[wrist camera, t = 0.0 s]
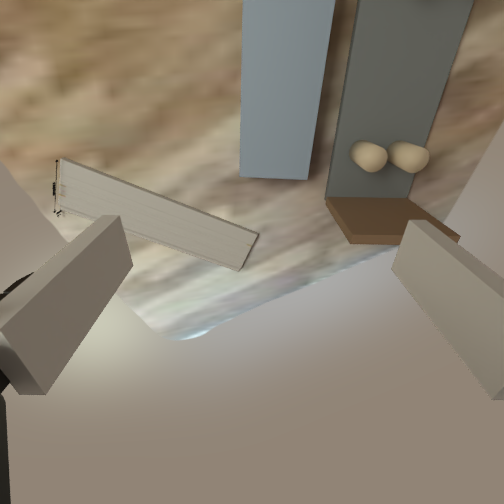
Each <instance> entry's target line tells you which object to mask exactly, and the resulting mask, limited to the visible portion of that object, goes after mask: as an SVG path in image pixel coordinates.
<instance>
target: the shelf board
mask: <svg viewBox="0 0 504 504" xmlns="http://www.w3.org/2000/svg"><path fill="white" fill-rule="evenodd" d="M334 6H335V0H243V21H242V72H241V123H240V174H239V177H255V178H277V179H298V180H307V178H308V172H309V166H310V159H311V153H312V146H313V140H314V134H315V127H316V121H317V114H318V108H319V102H320V95H321V89H322V82H323V76H324V70H325V63H326V57H327V50H328V44H329V38H330V31H331V25H332V18H333V12H334Z"/></svg>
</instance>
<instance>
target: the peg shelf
mask: <svg viewBox="0 0 504 504" xmlns="http://www.w3.org/2000/svg"><path fill="white" fill-rule="evenodd" d="M473 2H474V0H358V2H357V8H356V14H355V20H354V26H353V32H352V38H351V44H350V50H349V56H348V62H347V68H346V74H345V80H344V86H343V92H342V98H341V103H340V109H339V115H338V121H337V127H336V133H335V139H334V145H333V151H332V157H331V163H330V169H329V175H328V181H327V187H326V193H325V201H326V206H327V208H328V209H329V211H330V212H331V214H332V216H333V217H334V219H335V220H336V222H337V224H338V225H339V227H340V228H341V230H342V231H343V233H344V235H345V236H346V238H347V239H348V241H349V243H350V244H383V245H400V243H401V241H402V238H403V235H404V232H405V230H406V227H407V224H408V221H409V220H427V221H428V222H429V223H431V224H432V225H433V226H435V227H436V228H437V229H439V230H440V231H441V232H442V233H444V234H445V235H446V236H448V237H449V238H450V239H452V240H453V241H454V242H456V243H458V241H459V239H460V237H461V236H460V235H458V234H457V233H455V232H454V231H453V230H451V229H450V228H448V227H447V226H445V225H444V224H443V223H441V222H440V221H438V220H437V219H436V218H434V217H433V216H431V215H430V214H429V213H427V212H426V211H424V210H423V209H422V208H420V207H419V206H417V205H416V204H414V203H413V202H412V201H410V200H409V199H407V196H408V193H409V190H410V187H411V184H412V181H413V178H414V175H415V173H416V172H419V171H420V170H422V169H423V168H424V167H425V166H426V165H427V163H428V161H429V152H428V151H427V150H426V149H425V148H424V146H425V143H426V140H427V137H428V134H429V131H430V128H431V125H432V122H433V120H434V117H435V114H436V111H437V108H438V105H439V102H440V99H441V96H442V93H443V90H444V87H445V84H446V81H447V78H448V75H449V73H450V70H451V67H452V64H453V61H454V58H455V55H456V52H457V49H458V46H459V43H460V40H461V37H462V34H463V31H464V28H465V25H466V23H467V20H468V17H469V14H470V11H471V8H472V5H473Z"/></svg>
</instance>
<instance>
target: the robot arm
mask: <svg viewBox="0 0 504 504" xmlns="http://www.w3.org/2000/svg"><path fill="white" fill-rule="evenodd" d="M132 267H133V262H132V259H131V255H130V251H129V248H128V244H127V240H126V237H125V233H124V229H123V225H122V222H121V218H120V215H102V216H101V217H100V218H99V219H97V220H96V221H95V222H94V223H93V224H91V225H90V226H89V227H88V228H87V229H85V230H84V231H83V232H82V233H81V234H80V235H78V236H77V237H76V238H75V239H74V240H72V241H71V242H70V243H69V244H68V245H67V246H65V247H64V248H63V249H62V250H60V251H59V252H58V253H57V254H56V255H55V256H53V257H52V258H51V259H50V260H49V261H48V262H46V263H45V264H44V265H43V266H42V267H40V268H39V269H38V270H37V271H35V272H33V273H31V274H29V275H27V276H25V277H23V278H21V279H19V280H18V281H16V282H15V283H13V284H12V285H11V286H10V287H8V288H7V289H6V290H5V291H4V293H3V294H0V504H11V501H10V483H9V462H8V443H7V442H8V441H7V422H6V403H5V400H4V398H3V396H2V395H1V393H2V391H3V390H4V389H5V388H6V387H7V385H8V384H9V383H10V384H11V385H12V386H13V387H14V388H15V390H16V391H17V392H18V394H19V395H46V394H47V392H48V391H49V389H50V388H51V386H52V384H53V383H54V382H55V380H56V379H57V377H58V376H59V374H60V373H61V372H62V370H63V369H64V367H65V366H66V364H67V363H68V361H69V360H70V358H71V357H72V355H73V353H74V352H75V351H76V349H77V348H78V346H79V345H80V343H81V342H82V341H83V339H84V338H85V336H86V335H87V333H88V332H89V330H90V329H91V327H92V326H93V324H94V323H95V321H96V320H97V318H98V317H99V315H100V314H101V312H102V311H103V309H104V308H105V307H106V305H107V304H108V302H109V301H110V299H111V298H112V296H113V295H114V293H115V292H116V290H117V289H118V287H119V286H120V284H121V283H122V281H123V280H124V278H125V277H126V276H127V274H128V273H129V271H130V270H131V268H132ZM391 269H392V271H393V272H394V273H395V274H396V276H397V277H398V278H399V280H400V281H401V282H402V284H403V285H404V286H405V288H406V289H407V290H408V292H409V293H410V294H411V295H412V297H413V298H414V299H415V301H416V302H417V303H418V305H419V306H420V307H421V308H422V310H423V311H424V312H425V313H426V315H427V316H428V317H429V319H430V320H431V321H432V323H433V324H434V325H435V327H436V328H437V329H438V331H439V332H440V333H441V334H442V336H443V337H444V338H445V340H446V341H447V342H448V343H449V345H450V346H451V347H452V349H453V350H454V351H455V353H456V354H457V355H458V357H459V358H460V359H461V361H462V362H463V363H464V364H465V366H466V367H467V368H468V370H469V371H470V372H471V373H472V375H473V376H474V377H475V379H476V380H477V381H478V383H479V384H480V385H481V386H482V388H483V389H484V390H485V392H486V393H487V394H488V396H489V397H490V398H491V400H504V279H503V278H502V277H501V276H499V275H498V274H497V273H495V272H494V271H493V270H491V269H490V268H489V267H487V266H486V265H485V264H483V263H482V262H481V261H479V260H478V259H477V258H475V257H474V256H473V255H472V254H470V253H469V252H468V251H466V250H465V249H464V248H462V247H461V246H460V245H458V244H457V243H456V242H454V241H453V240H452V239H450V238H449V237H448V236H446V235H445V234H444V233H442V232H441V231H440V230H439V229H437V228H436V227H435V226H433V225H432V224H431V223H429V222H428V221H427V220H409V221H408V224H407V227H406V230H405V232H404V235H403V238H402V241H401V243H400V246H399V249H398V252H397V255H396V257H395V260H394V263H393V266H392V268H391Z"/></svg>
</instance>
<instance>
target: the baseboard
mask: <svg viewBox="0 0 504 504" xmlns="http://www.w3.org/2000/svg"><path fill="white" fill-rule="evenodd" d="M56 162H58V160H56ZM56 178H57V165H56ZM53 184H54V185H53V196H54V195H55V200H56V188H55V182H54V183H53ZM59 184H60V185H59V200H58V204H59V205H60V211H59V212H57V214H58V213H60V212H61V210H63V211H66V212H69V213H72V214H74V215H77V216H80V217H83V218H86V219H89V220H92V221H96V220H97V219H99V218H100V217H101V216H102V215H120V218H121V222H122V225H123V229H124V232H126V233H129V234H132V235H135V236H138V237H141V238H143V239H146V240H149V241H152V242H155V243H158V244H161V245H163V246H166V247H169V248H172V249H175V250H178V251H181V252H184V253H186V254H189V255H192V256H195V257H198V258H201V259H204V260H207V261H209V262H212V263H215V264H218V265H221V266H224V267H227V268H230V269H232V270H235V271H239V269H240V268H241V267H242V265H243V263H244V261H245V259H246V257H247V255H248V253H249V251H250V249H251V247H252V245H253V243H254V241H255V239H256V237H257V235H258V233H257V232H255V231H252V230H249V229H247V228H244V227H242V226H239V225H237V224H234V223H231V222H229V221H226V220H224V219H221V218H219V217H216V216H214V215H211V214H208V213H206V212H203V211H201V210H198V209H196V208H193V207H190V206H188V205H185V204H183V203H180V202H178V201H175V200H172V199H170V198H167V197H165V196H162V195H160V194H157V193H154V192H152V191H149V190H147V189H144V188H142V187H139V186H136V185H134V184H131V183H129V182H126V181H124V180H121V179H119V178H116V177H113V176H111V175H108V174H106V173H103V172H101V171H98V170H95V169H93V168H90V167H88V166H85V165H83V164H80V163H77V162H75V161H72V160H70V159H67V158H65V157H64V158H61V159H60V180H59ZM55 212H56V211H54V213H55ZM57 214H56V215H57ZM60 215H61V214H60ZM58 216H59V215H58ZM58 216H57V217H58Z"/></svg>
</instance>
